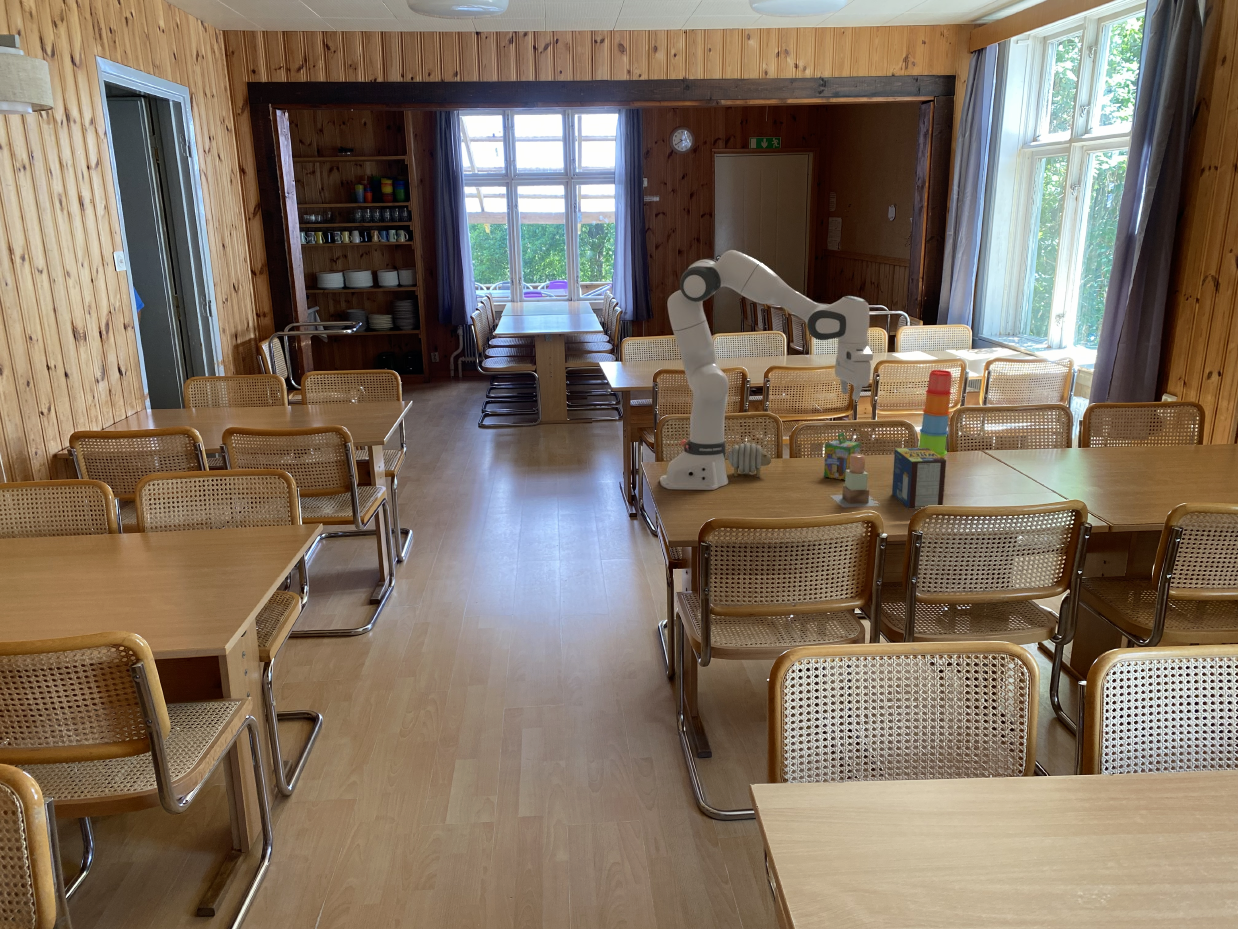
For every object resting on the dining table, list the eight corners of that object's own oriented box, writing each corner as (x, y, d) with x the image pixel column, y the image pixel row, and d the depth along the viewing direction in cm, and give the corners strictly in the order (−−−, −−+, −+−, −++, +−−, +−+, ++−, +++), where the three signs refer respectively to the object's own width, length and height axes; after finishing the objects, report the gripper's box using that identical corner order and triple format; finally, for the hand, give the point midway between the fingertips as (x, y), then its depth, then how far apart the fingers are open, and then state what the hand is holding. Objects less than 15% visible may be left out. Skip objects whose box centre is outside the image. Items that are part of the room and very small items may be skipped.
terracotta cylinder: (852, 474, 269) (853, 457, 267) (847, 470, 273) (848, 454, 272) (866, 473, 269) (867, 457, 268) (861, 469, 273) (862, 453, 272)
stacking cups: (940, 467, 310) (949, 368, 301) (948, 476, 301) (957, 373, 292) (910, 467, 311) (917, 368, 302) (916, 475, 302) (924, 373, 293)
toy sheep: (771, 479, 300) (772, 447, 297) (720, 478, 301) (721, 446, 298) (769, 471, 310) (770, 439, 307) (720, 470, 311) (720, 439, 308)
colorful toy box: (848, 481, 296) (851, 438, 292) (822, 477, 301) (824, 434, 297) (860, 475, 303) (862, 432, 299) (834, 471, 308) (836, 429, 304)
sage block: (850, 490, 270) (851, 474, 268) (845, 485, 274) (845, 469, 273) (866, 489, 270) (867, 473, 269) (860, 485, 275) (861, 469, 274)
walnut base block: (849, 503, 270) (849, 491, 269) (842, 497, 276) (842, 485, 275) (868, 502, 271) (869, 490, 270) (861, 497, 276) (861, 484, 275)
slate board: (842, 509, 267) (842, 507, 267) (829, 498, 279) (829, 495, 278) (881, 508, 268) (881, 505, 268) (866, 496, 280) (867, 493, 280)
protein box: (924, 495, 280) (927, 447, 276) (943, 510, 265) (947, 459, 261) (890, 496, 280) (894, 447, 276) (907, 511, 265) (911, 460, 261)
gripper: (830, 346, 280) (828, 390, 284) (854, 356, 260) (851, 403, 264) (850, 346, 281) (848, 390, 284) (875, 355, 261) (872, 402, 265)
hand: (850, 396), depth 274 cm, fingers open, 8 cm apart
